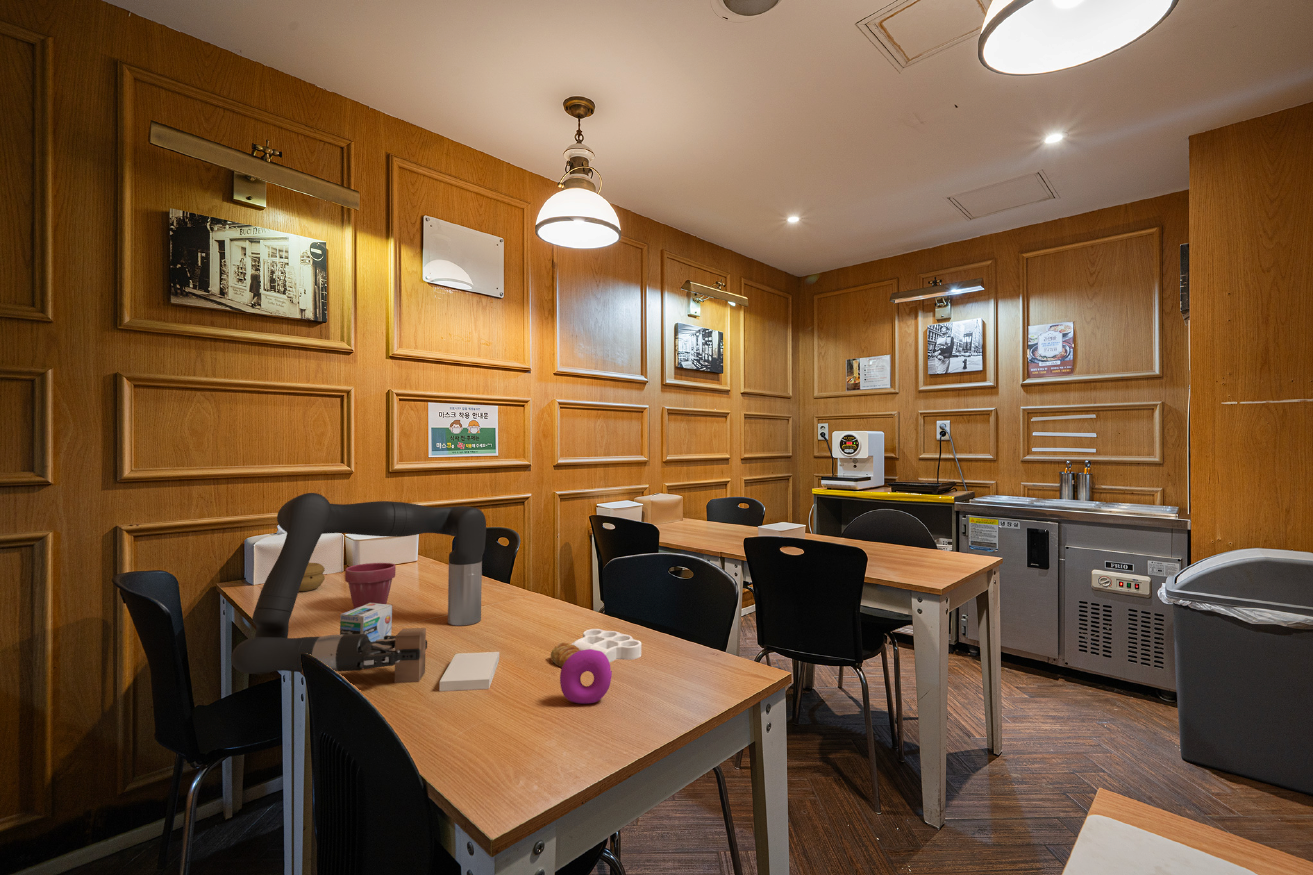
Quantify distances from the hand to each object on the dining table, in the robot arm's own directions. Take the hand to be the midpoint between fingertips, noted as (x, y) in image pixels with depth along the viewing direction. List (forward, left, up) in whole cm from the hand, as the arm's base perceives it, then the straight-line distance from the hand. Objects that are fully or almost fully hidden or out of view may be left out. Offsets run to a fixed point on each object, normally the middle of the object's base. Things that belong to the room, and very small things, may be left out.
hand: (423, 649), depth 124 cm
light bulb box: (-17, -18, -6) cm, 25 cm away
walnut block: (0, -3, -6) cm, 7 cm away
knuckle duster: (-11, +41, -7) cm, 43 cm away
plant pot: (-58, -31, -6) cm, 66 cm away
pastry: (-5, +32, -7) cm, 33 cm away
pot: (-83, -61, -6) cm, 103 cm away
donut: (+16, +35, -6) cm, 39 cm away
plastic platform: (0, +10, -6) cm, 12 cm away
